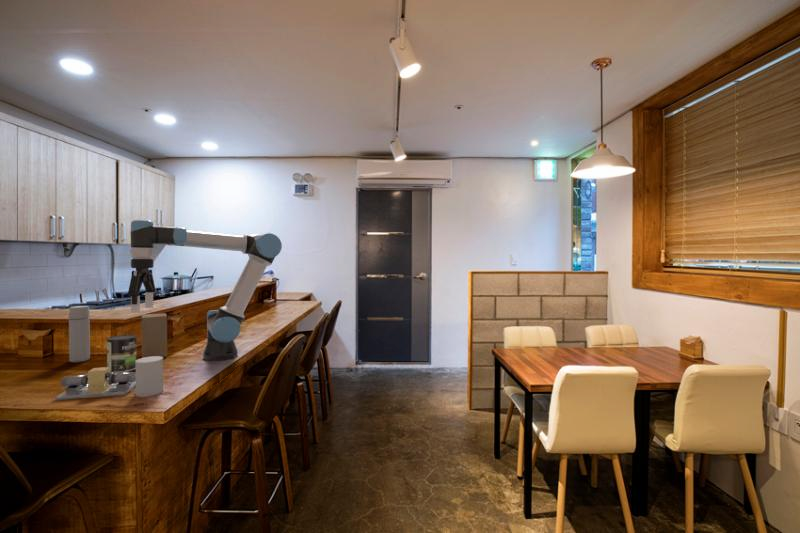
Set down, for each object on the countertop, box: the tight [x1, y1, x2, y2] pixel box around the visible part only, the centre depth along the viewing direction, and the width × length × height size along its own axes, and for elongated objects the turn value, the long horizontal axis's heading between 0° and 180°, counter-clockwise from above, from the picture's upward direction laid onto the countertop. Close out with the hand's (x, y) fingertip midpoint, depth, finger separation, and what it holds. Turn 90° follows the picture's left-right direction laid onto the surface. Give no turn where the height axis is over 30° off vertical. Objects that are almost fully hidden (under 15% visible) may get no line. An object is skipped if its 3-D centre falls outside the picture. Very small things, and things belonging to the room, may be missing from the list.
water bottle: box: [67, 305, 91, 364], centre depth 167 cm, size 9×8×25 cm
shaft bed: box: [55, 371, 136, 401], centre depth 130 cm, size 21×11×7 cm, turn 105°
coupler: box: [87, 366, 110, 391], centre depth 130 cm, size 5×4×7 cm
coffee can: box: [106, 334, 138, 373], centre depth 155 cm, size 10×10×14 cm
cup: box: [135, 356, 164, 398], centre depth 130 cm, size 8×8×12 cm
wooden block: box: [141, 312, 168, 358], centre depth 176 cm, size 10×10×20 cm
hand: (142, 310), depth 149 cm, fingers open, 13 cm apart
